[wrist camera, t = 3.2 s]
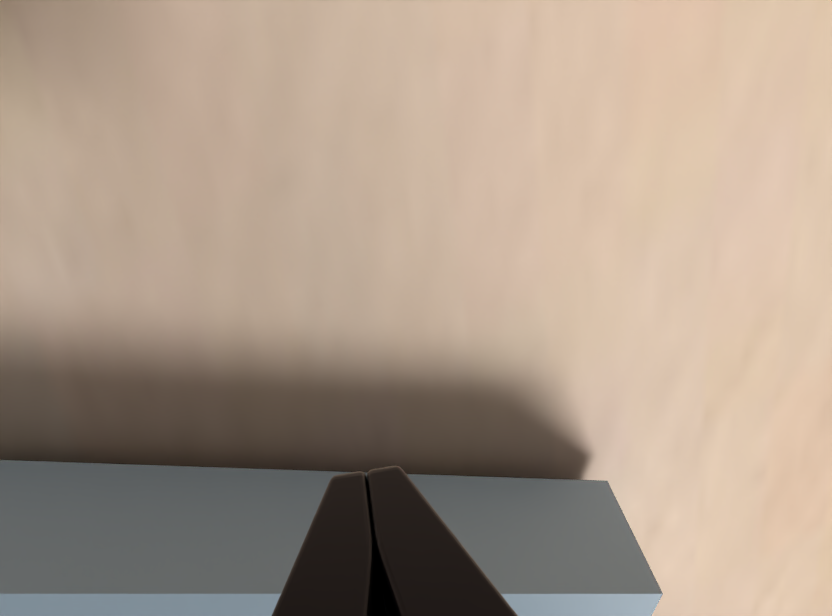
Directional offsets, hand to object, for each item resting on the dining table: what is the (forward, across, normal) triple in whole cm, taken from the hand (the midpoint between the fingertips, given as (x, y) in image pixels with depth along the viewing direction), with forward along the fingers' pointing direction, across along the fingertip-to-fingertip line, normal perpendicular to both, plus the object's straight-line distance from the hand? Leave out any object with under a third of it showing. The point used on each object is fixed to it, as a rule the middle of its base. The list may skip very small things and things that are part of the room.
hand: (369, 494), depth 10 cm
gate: (+5, +2, +5) cm, 7 cm away
